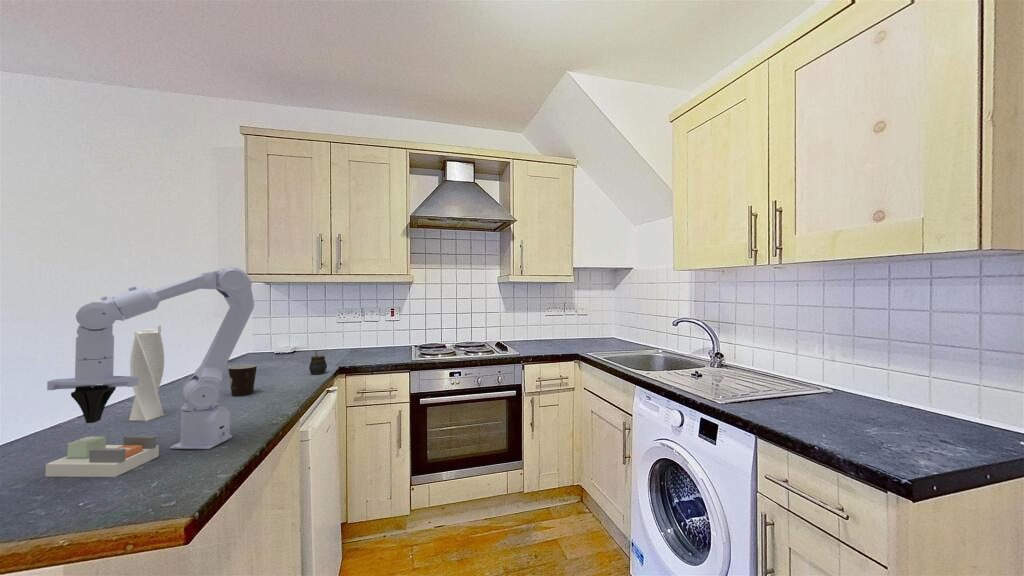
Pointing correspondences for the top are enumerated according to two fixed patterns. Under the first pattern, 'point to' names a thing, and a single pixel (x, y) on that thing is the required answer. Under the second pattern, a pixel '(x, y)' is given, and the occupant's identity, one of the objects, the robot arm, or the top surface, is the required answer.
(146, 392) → the skyscraper
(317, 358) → the mate gourd
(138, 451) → the button
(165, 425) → the top surface
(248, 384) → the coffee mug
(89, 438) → the on button
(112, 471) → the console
